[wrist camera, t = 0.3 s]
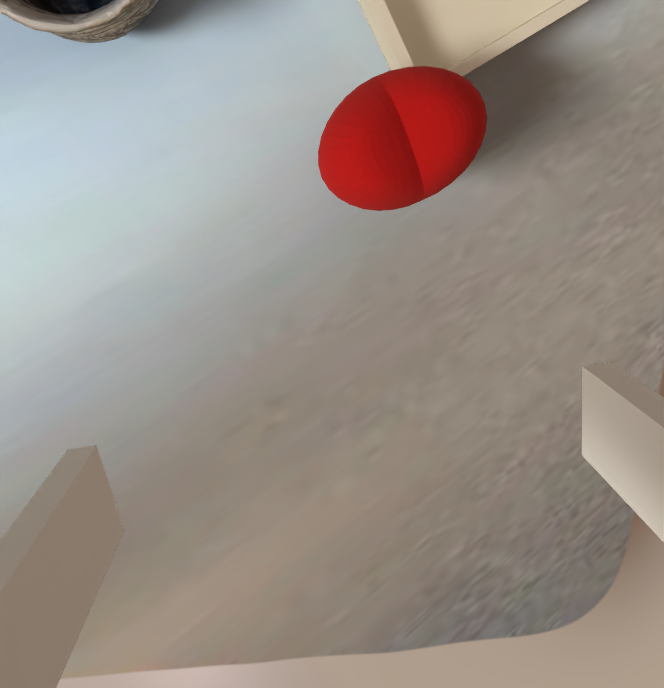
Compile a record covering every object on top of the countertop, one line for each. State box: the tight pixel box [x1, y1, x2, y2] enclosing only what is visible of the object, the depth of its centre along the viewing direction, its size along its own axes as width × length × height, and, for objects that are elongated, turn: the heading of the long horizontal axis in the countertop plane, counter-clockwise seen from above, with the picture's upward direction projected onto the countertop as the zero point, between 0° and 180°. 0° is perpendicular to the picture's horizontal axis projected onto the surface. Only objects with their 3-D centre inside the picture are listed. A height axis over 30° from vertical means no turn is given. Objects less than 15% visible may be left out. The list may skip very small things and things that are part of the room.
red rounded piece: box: [318, 66, 487, 211], centre depth 32 cm, size 9×7×10 cm
